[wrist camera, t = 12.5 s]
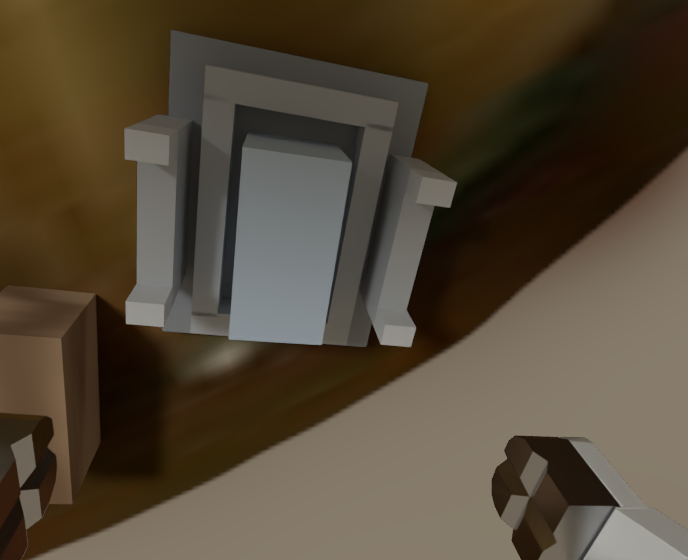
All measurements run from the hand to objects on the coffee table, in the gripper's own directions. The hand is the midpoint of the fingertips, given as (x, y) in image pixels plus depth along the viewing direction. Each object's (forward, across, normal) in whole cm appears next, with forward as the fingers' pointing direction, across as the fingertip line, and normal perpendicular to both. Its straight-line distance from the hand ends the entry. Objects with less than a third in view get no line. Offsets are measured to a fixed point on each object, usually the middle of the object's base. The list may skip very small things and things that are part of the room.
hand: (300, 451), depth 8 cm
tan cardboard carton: (+16, +11, +11) cm, 23 cm away
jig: (+16, 0, +1) cm, 16 cm away
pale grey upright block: (+15, 0, +1) cm, 15 cm away
